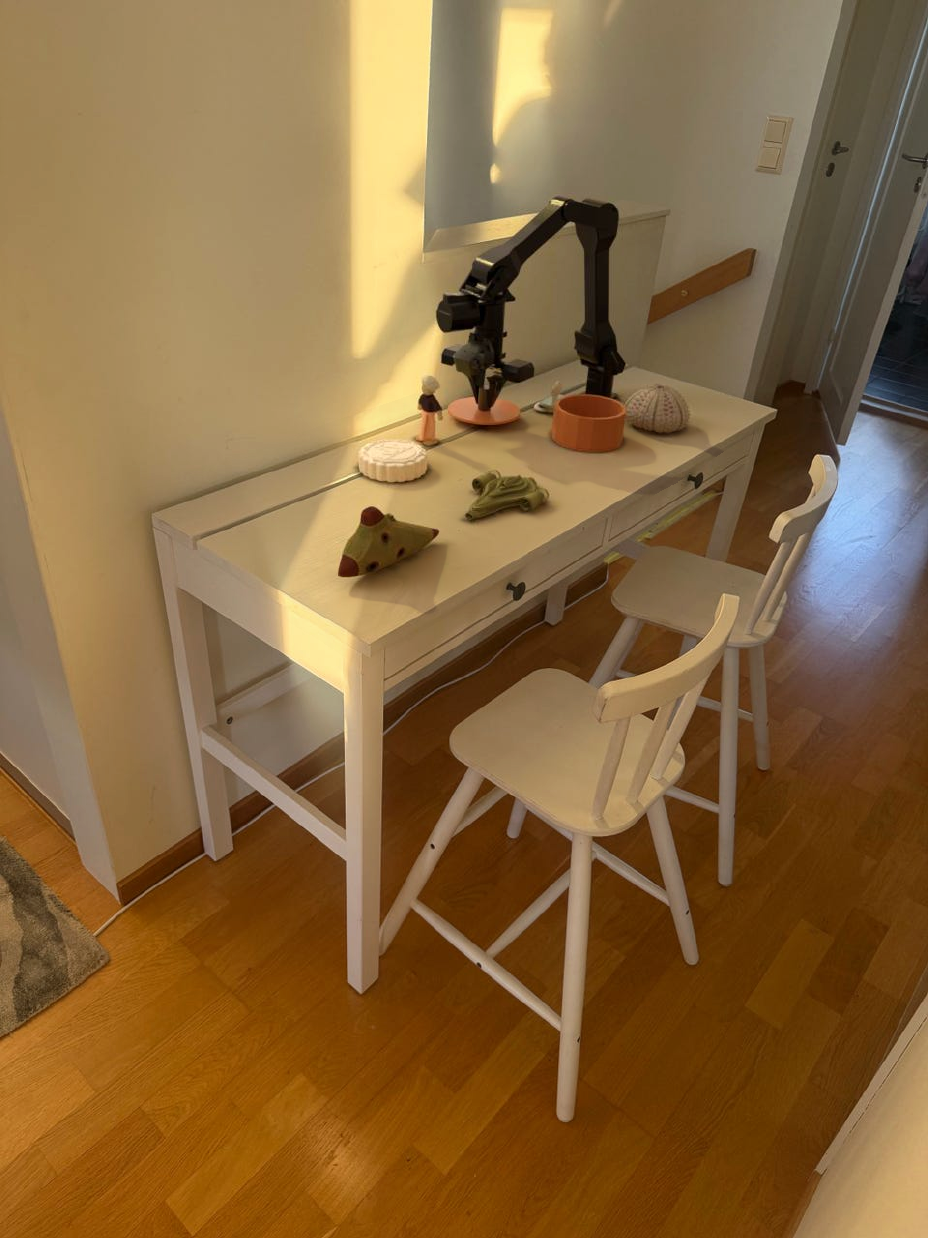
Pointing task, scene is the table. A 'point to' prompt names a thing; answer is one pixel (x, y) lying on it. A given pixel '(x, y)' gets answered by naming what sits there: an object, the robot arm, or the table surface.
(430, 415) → the grandmother figurine
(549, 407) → the pacifier
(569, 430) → the pot
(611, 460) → the table surface
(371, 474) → the mooncake
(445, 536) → the table surface
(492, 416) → the lid
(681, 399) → the sea urchin shell
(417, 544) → the ocarina
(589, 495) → the table surface
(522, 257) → the robot arm
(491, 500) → the spaceship toy
